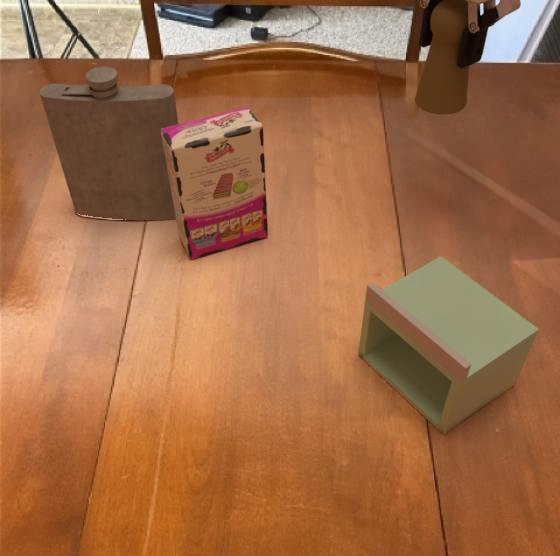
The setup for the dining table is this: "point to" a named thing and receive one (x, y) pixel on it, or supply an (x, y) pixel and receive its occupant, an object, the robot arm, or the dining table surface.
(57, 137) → the hip flask
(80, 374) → the dining table surface
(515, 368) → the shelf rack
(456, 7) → the brown pawn
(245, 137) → the candy bar box
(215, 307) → the dining table surface
